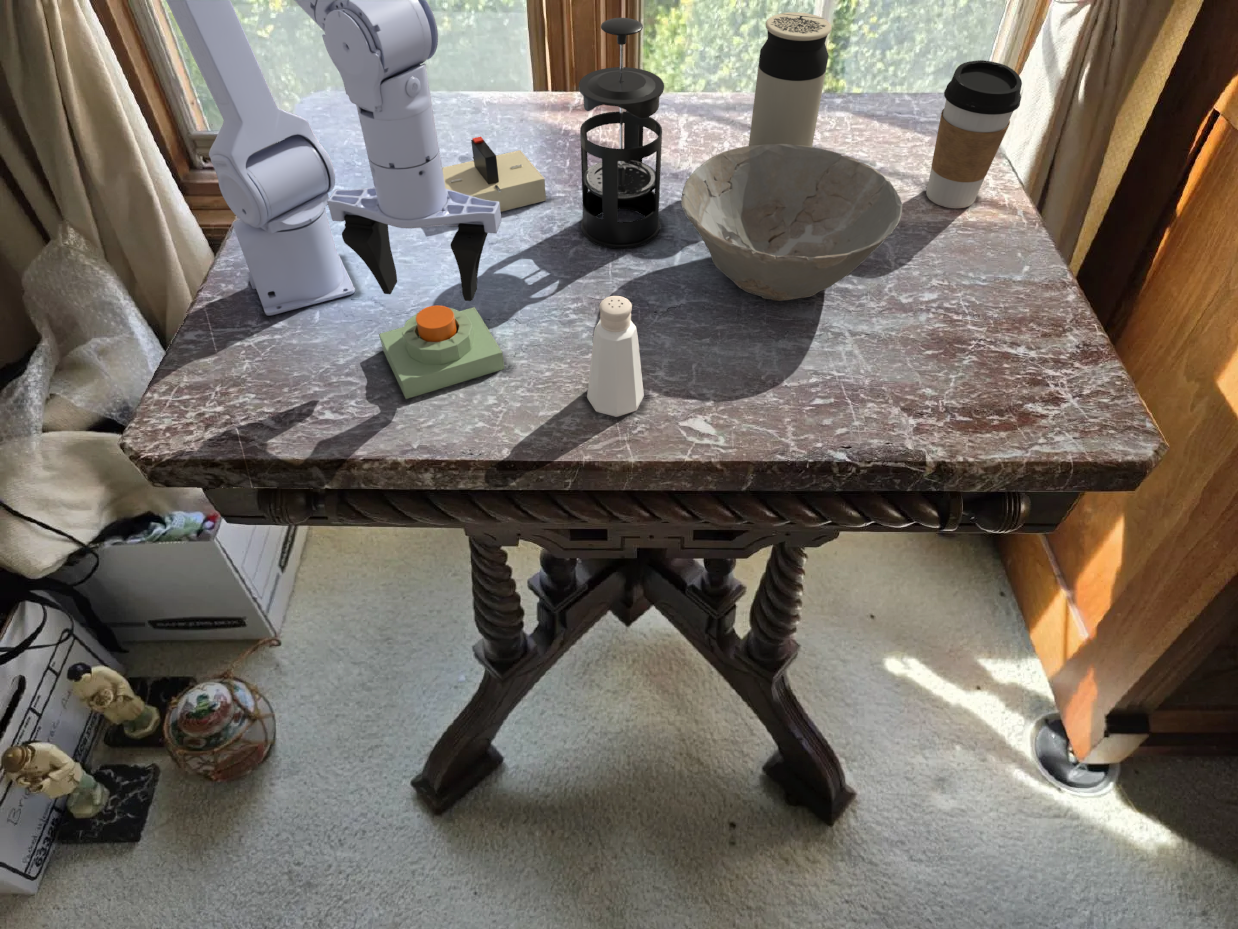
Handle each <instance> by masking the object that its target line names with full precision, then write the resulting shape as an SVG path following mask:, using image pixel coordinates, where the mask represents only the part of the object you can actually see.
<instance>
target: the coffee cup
mask: <svg viewBox="0 0 1238 929" xmlns="http://www.w3.org/2000/svg"><path fill="white" fill-rule="evenodd" d="M1022 85H1023V81H1022V78H1021V77H1020V75H1019V74H1018V73H1017V72H1016V71H1015V70H1014V69H1013V68H1011V67H1009V66H1008V65H1005V64H1003V63H1000V62H995V61H990V60H985V59H984V60H983V59H980V60H970V61H966V62H963V63H961V64H959V65H958V66H957V67H956V68H955V70H954V73H953V75H952V77H951V79H950V81H949V82H948V83H947V84H946V87H945V89H944V92H943V96H944V99H945V103H944V106H943V108H942V110H941V113H940V118H939V123H938V130H937V135H936V139H935V145H934V150H933V155H932V160H931V168H930V171H929V172H930V173H929V176H928V181H927V187H926V191H925V192H926V197H927V198H928V199H929V200H930V201H931V203H934V204H935V205H938V206H941V207H944V208H948V209H964V208H968V207H971V205H973V204H974V203H975V201H976V199H977V197H978V194H979V192H980V190H981V187H982V186H983V182H984V180H985V178H986V176H987V175H988V172H989V170H990V168H991V166H992V163H993V162H994V159H995V157H996V155H997V153H998V151H999V149H1000V147H1001V144H1002V142H1003V139H1004V138H1005V137H1006V136H1005V135H1006V134H1007V132H1008V129H1009V127H1010V125H1011V118H1012V115H1013V114H1014V111H1016V110H1018V109H1019V107H1020V105H1021V101H1022V95H1021V90H1022Z"/></svg>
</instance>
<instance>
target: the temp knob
mask: <svg viewBox="0 0 1238 929" xmlns="http://www.w3.org/2000/svg"><path fill="white" fill-rule="evenodd" d="M470 143H471V150H472V159H473V161H474V166H475V167H476V169H477V170H478V171H479V173H480V174H481V175H482V177H483V178H484V179H485V180H486V182H487V183H488V184H492V183H496V182H499V177H498V168H497V159H496V154H495V152H494V151H493V150H492V148H491V147H490V146H489V145H488V143H487V142H486V141H485V139H484V138H483V137H482V136H476V137H473V138H472V139H471V140H470Z"/></svg>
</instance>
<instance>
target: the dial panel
mask: <svg viewBox="0 0 1238 929" xmlns="http://www.w3.org/2000/svg"><path fill="white" fill-rule="evenodd" d="M495 155H496V154H495ZM496 159H497V168H498V177H499V182H496V183H492V184H488V183H487V182H486V180H485V179H484V178H483V177H482V175H481V174H480V173H479V171H478V170H477V169H476V167H475V166H474V160H470V161H465V162H462V163H457V164H452V165H447V166H442V169H443V176H444V182H445V188H446V189H449V190H452V191H456V192H459V193H462V194H466V195H469V196H473V197H476V198H480V199H484V200H489V201H498V202H499V203H500V212H501V213H502V212H506V211H509V210H514V209H518V208H521V207H526V206H531V205H534V204H538V203H542V202H546V201H547V196H546V182H545V176H543V175H542V174H541V172H540V171H539V170H538V168H536V167H535V166H534V165H533V163H532V162H531V161H530V160H529V158H528V157H527V156H526V155H525V154H524V153H523V151H522V150H521V149H519V150H514V151H510V152H505V153H501V154H497V155H496Z"/></svg>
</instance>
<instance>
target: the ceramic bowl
mask: <svg viewBox="0 0 1238 929" xmlns="http://www.w3.org/2000/svg"><path fill="white" fill-rule="evenodd" d="M680 206H681V208H682V210H683V212H684V214H685V216H686V217H687V219H688V221H689V222H690V224H692V226H693V227H694V229H695V230H696V231H697V233H698V234H699V236H700V237H701V239H702V241H703V243H704V244H705V246H706V248H707V250H708V252H709V254H710V256H711V259H712V262H713V265H714V266H715V267H716V268H717V269H718V270H719V271H720V272H721V273H723V275H725V276H726V277H727V278H728V279H730V281H732V282H733V283H734V284H735V285H736V286H737V287H738V288H739V289H741V290H743V291H744V292H746V293H748V294H751V295H754V296H759V297H761V298H762V299H765V300H772V301H778V302H782V301H790V300H797V299H804V298H810V297H813V296H815V295H816V294H818V293H819V292H821V291H824V290H826V289H828V288H830V287H831V286H833V285H835V284H836V283H838V282H840V281H841V280H843V279H844V278H846V277H847V276H848V275H850V274H851V273H852V272H853V271H854V270H856V269H857V267H859V266H860V265H861V264H862V263H863V262H864V261H866V260H867V259H868V257H869V256H871V255H872V253H873V252H875V250H877V248H879V247H880V246H881V245H882V244H883V243H884V241H885V240H887V238H888V237H889V236H890V235H891V234H892V233H893V232H894V231H895V229H896V228H897V227H898V225H899V223H900V221H901V218H902V212H903V202H902V199H901V197H900V195H899V194H898V191H897V190H896V189H895V187H894V186H893V184H892V182H891V181H890V180H888V179H887V178H886V177H885V176H884V175H883V174H882V173H881V172H880V171H879V170H877V169H876V168H874V167H872V166H870V165H869V164H866V163H863V162H860V161H859V160H857V159H856V158H854V157H851V156H847V155H842V154H841V153H839V152H835V151H832V150H829V149H824V148H819V147H814V146H812V147H808V146H800V145H791V144H773V145H750V146H749V145H747V146H741V147H736V148H731V149H728V150H725V151H722V152H720V153H718V154H715V155H714V156H712V157H710V158H708V159H707V160H706V161H704V162H703V163H701V165H700V166H698V167H697V168H695V169H694V170H693V172H692V173H691V174H690V175H689V177H688V178H687V179H686V180H685V183H684V186H683V189H682V191H681V198H680Z"/></svg>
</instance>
